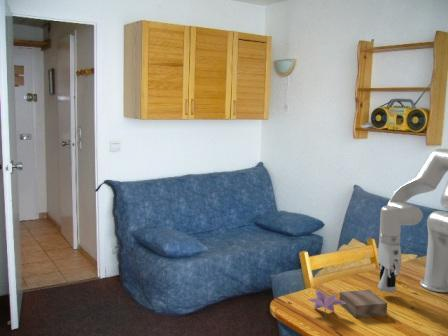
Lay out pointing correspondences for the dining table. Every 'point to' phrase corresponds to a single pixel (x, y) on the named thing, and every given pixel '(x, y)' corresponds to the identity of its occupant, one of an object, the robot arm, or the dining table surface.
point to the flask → (385, 283)
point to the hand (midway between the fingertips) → (387, 283)
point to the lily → (325, 301)
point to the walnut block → (363, 304)
